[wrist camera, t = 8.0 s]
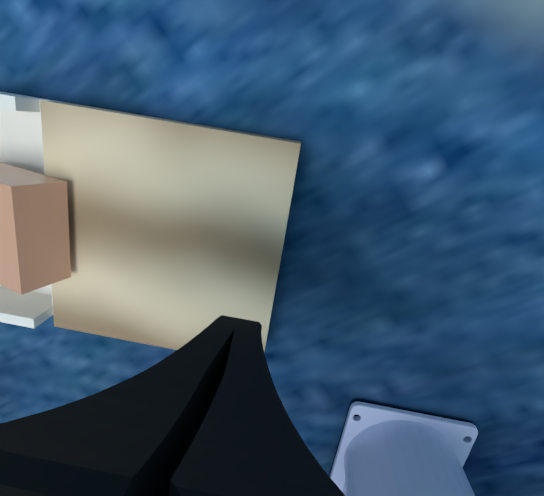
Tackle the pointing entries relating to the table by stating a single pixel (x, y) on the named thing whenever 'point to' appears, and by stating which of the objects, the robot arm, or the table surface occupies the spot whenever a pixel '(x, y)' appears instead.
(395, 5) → the table surface
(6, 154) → the box
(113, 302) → the board
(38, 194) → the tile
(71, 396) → the table surface
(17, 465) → the robot arm
